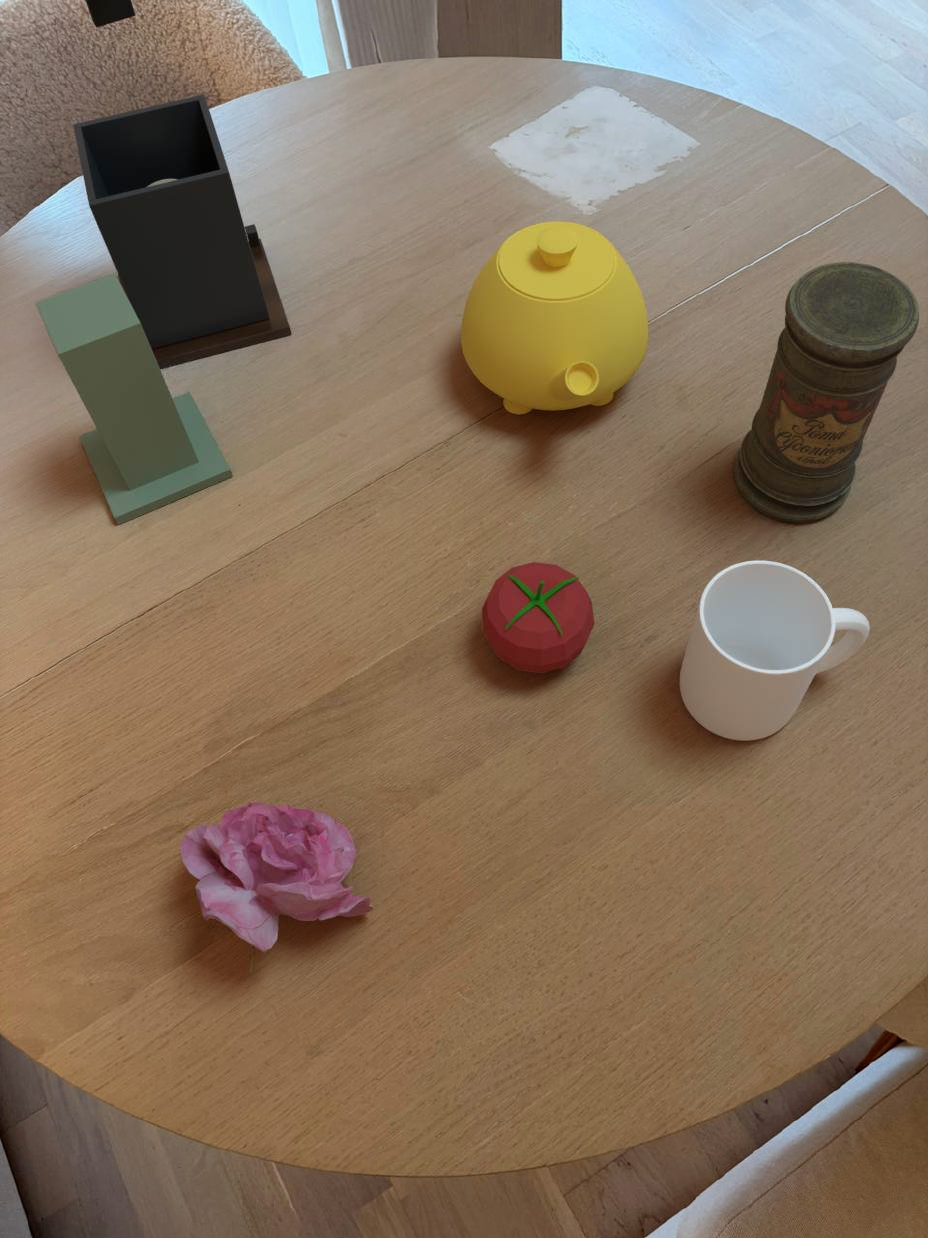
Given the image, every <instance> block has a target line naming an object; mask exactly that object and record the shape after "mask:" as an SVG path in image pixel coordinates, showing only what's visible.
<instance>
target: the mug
mask: <svg viewBox="0 0 928 1238" xmlns="http://www.w3.org/2000/svg"><path fill="white" fill-rule="evenodd" d="M693 620H694V621H693V624H692V627H691V631H690V635H689V638H688V642H687V646H686V649H685V652H684V656H683V659H682V663H681V667H680V673H679V691H680V696H681V699H682V701H683V704H684V706H685V708H686V710H687V712H689V714H690V715H691V717H692V718H693V719H694V720H695V721H696V722H697V723H698V724H699V725H701V726H702V727H703V728H704V729H706V730H708V731H709V732H710V733H713V734H715V735H717V736H719V737H721V738H725V739H729V740H732V741H733V740H734V741H744V742H745V741H747V742H749V741H756V740H760V739H761V740H762V739H764V738H767V737H770V736H771V735H773V734H776V733H778V731H780V730H782V729H783V727H785V726H786V725H787V724H788V723H789V722H790V720H791V719H792V718H793V716H795V714H796V713H797V710H798V708H799V706H800V705H801V702H802V701H803V699H804V697H805V695H806V693H807V691H808V689H809V687H810V685H811V683H812V681H813V680H814V679H815V678H814V677H815V676H816V675H817V674H820V673H823V672H826V671H829V670H831V669H833V668H835V667H837V666H839V665H841V664H843V663H845V662H846V661H848V660H849V659H850V658H851V657H853V656H854V655H856V653H858V651H859V650H860V649H861V648H862V647H863V646H864V645H865V644H866V642H867V640H868V638H869V635H870V630H871V628H870V622H869V620H868V618H867V617H866V616H865V615H864V613H862V612H861V611H859V610H856V609H853V608H849V607H833V605H832V603H831V601H830V599H829V597H828V595H827V594H826V592H825V591H824V590H823V588H822V587H821V586H820V584H818V583H817V582H816V581H815V580H813V578H812V577H810V576H809V575H807V574H806V573H804V572H802V571H801V570H799V569H797V568H795V567H793V566H791V565H787V564H786V563H785V564H784V563H782V562H777V561H773V560H772V561H771V560H757V559H756V560H747V561H742V562H738V563H735V564H733V565H730V566H727V567H726V568H724V569H722V570H721V571H719V572H718V573H717V574H715V575H714V576H713V577H712V578H711V579H710V581H709V582H708V583H707V584H706V586H705V588H704V589H703V591H702V594H701V596H700V599H699V602H698V606H697V609H696V613H695V617H694V619H693ZM841 631H843V632H845V631H846V632H845V634H844V635H843V636H842V638H840V639H839V640H838V641H837V642H836V643H833V641H834V638H835V635H836V634H835V633H837V632H841ZM832 643H833V645H832Z"/></svg>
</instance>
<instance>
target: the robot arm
mask: <svg viewBox="0 0 928 1238" xmlns="http://www.w3.org/2000/svg"><path fill="white" fill-rule="evenodd" d="M84 1H85V3H86V7H87V9H88V12H89V15H90V18H91V20H92V23H93V25H94V26H95V28H100V27H104V26H107V25H110V24H114V23H117V22H120V21H123V20H127V19H129V18H133V17H135V16H136V12H135V9H134V6H133V3H132V0H84Z"/></svg>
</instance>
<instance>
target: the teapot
mask: <svg viewBox="0 0 928 1238" xmlns="http://www.w3.org/2000/svg"><path fill="white" fill-rule="evenodd" d="M461 319H462V320H461V327H460V338H461V339H460V341H461V342H460V343H461V349H462V354H463V357H464V360H465V361H466V364H467V365H468V368H469V369H470V370H471V372H472V374H473V375H474V376H475V377H476V378H477V380H478V381H479V382H480V384H481V383H482V385H483V386H485V387H486V388H487V389H488V390H490V391H491V392H493V393H494V394H496V395H497V396H499V397H501V398H502V399H503V402H502V403H503V407H504V409H505V410H506V411H507V412H508V413H511V414H514V415H525V414H528V413H530V412H532V410H540V411H565V410H571V409H576V408H581V407H584V406H588V405H591V406H596V407H601V406H605V405H607V404H609V403H610V402H611V401H612V400H613V398H614V393H615V392H616V391H619V389H621V388H622V387H623V386H625V385H626V384H627V383H628V382H629V381H630V380H631V379H632V377H633V376H634V375H635V374H636V372H637V371H638V370H639V368H640V366H641V364H642V363H643V362H644V359H645V356H646V353H647V348H648V343H649V322H648V321H649V320H648V313H647V308H646V302H645V298H644V295H643V293H642V290H641V288H640V285H639V282H638V280H637V279H636V277H635V275H634V273H633V272H632V270H631V268H630V266H629V264H627V262H626V260H625V259H624V258H623V256H622V255H621V253H620V252H619V251H618V249H617V248H616V247H615V246H614V245H613V244H612V242H610V241H609V240H608V239H607V238H606V236H604V235H603V234H601V233H600V232H599V231H597V230H595V229H593V228H591V227H589V226H587V225H583V224H580V223H577V222H571V221H558V220H557V221H545V222H539V223H536V224H532V225H529V226H526V227H524V228H522V229H519V230H518V231H516V232H514V233H513V234H512V235H510V236H509V237H508V238H507V239H506V240H505V241H503V243H502V244H501V245H500V246H499V247H497V249H496V250H495V251H494V253H493V254H492V255H491V256H490V258H489V259H488V260H487V262H486V263H485V264H484V266H483V267H482V268H481V270H480V271H479V273H478V274H477V276H476V278H475V280H474V281H473V283H472V285H471V288H470V290H469V293H468V295H467V299H466V301H465V305H464V309H463V314H462V318H461Z"/></svg>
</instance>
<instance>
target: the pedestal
mask: <svg viewBox="0 0 928 1238" xmlns="http://www.w3.org/2000/svg"><path fill="white" fill-rule="evenodd" d="M34 304H35V306H36V308H37V310H38V313H39V315H40V317H41V320H42V322H43V325H44V326H45V329H46V331H47V334H48V336H49V338H50V340H51V342H52V345H53V347H54V349H55V352H56V354H57V356H58V358H59V359H60V361H61V364H62V365H63V367H64V369H65V371H66V373H67V375H68V377H69V379H70V380H71V382H72V385H73V386H74V388H75V390H76V392H77V394H78V395H79V398H80V399H81V401H82V403H83V405H84V407H85V409H86V411H87V412H88V414H89V416H90V418H91V420H92V422H93V424H94V426H95V427H96V428H95V429H93V430H90V431H87V432H85V433H83V434H81V435H79V437H78V438H79V440H80V442H81V444H82V446H83V449H84V452H85V453H86V456H87V458H88V460H89V463H90V465H91V468H92V470H93V472H94V475H95V477H96V479H97V481H98V483H99V486H100V489H101V491H102V494H103V496H104V498H105V500H106V502H107V505H108V507H109V510H110V512H111V514H112V516H113V519H114V520H115V522H116V524H117V525H122V524H124V523H126V522H129V521H131V520H134V519H136V518H138V517H141V516H143V515H145V514H148V513H150V512H152V511H155V510H158V509H160V508H162V507H164V506H166V505H169V504H172V503H173V502H176V501H178V500H182V499H184V498H185V497H188V496H190V495H192V494H195V493H197V492H200V491H202V490H204V489H207V488H210V487H211V486H214V485H216V484H218V483H221V482H223V481H226V480H229V479H230V478H232V477H234V475H233V472H232V470H231V468H230V465H229V464H228V461H227V460H226V458H225V456H224V454H223V452H222V451H221V448H220V447H219V444H218V443H217V441H216V439H215V437H214V435H213V433H212V431H211V430H210V427H209V426H208V424H207V422H206V420H205V418H204V416H203V414H202V412H201V410H200V409H199V407H198V405H197V402H196V401H195V399H194V398H193V395H192V393H191V392H190V391H188V392H185V393H183V394H180V395H178V396H175V397H172V394H171V392H170V389H169V387H168V385H167V383H166V380H165V377H164V376H163V373H162V370H161V369H160V368H159V366H158V363H157V361H156V358H155V356H154V354H153V351H152V349H151V347H150V344H149V342H148V339H147V337H146V335H145V332H144V330H143V328H142V325H141V323H140V321H139V319H138V317H137V315H136V313H135V311H134V309H133V307H132V305H131V303H130V302H129V300H128V298H127V296H126V294H125V292H124V290H123V288H122V286H121V284H120V282H119V279H118V275H116V273H112V274H109V275H105V276H103V277H100V278H97V279H95V280H92V281H89V282H87V283H85V284H82V285H80V286H79V285H78V286H76V287H73V288H70V289H68V290H65V291H63V292H60V293H57V294H54V295H51V296H48V297H46V298H44V299H41V300H38V301H35V302H34Z"/></svg>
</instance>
